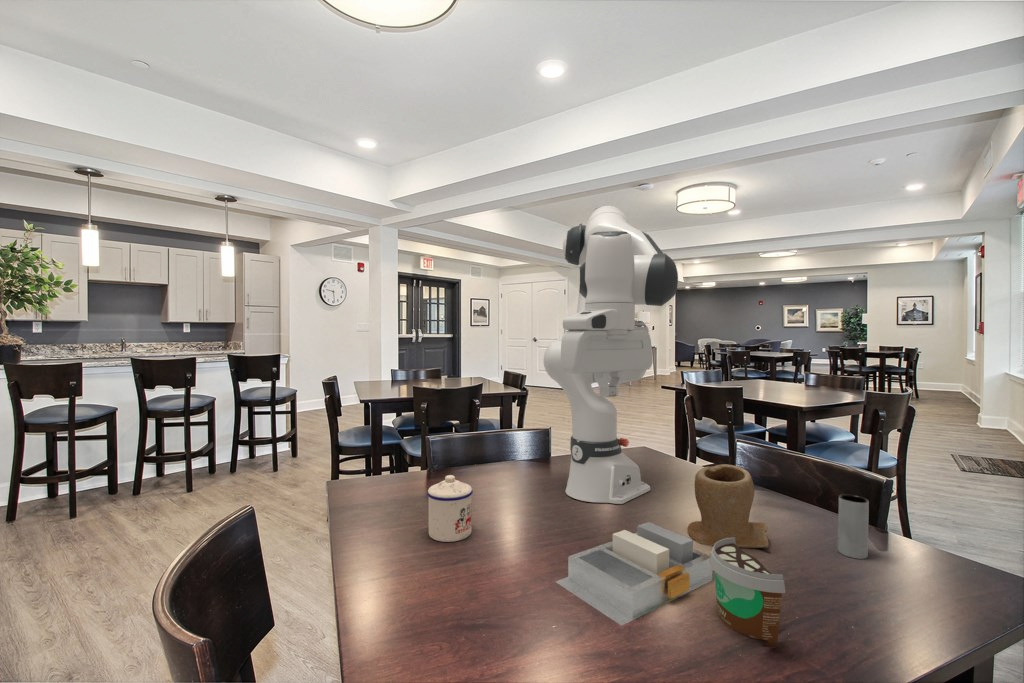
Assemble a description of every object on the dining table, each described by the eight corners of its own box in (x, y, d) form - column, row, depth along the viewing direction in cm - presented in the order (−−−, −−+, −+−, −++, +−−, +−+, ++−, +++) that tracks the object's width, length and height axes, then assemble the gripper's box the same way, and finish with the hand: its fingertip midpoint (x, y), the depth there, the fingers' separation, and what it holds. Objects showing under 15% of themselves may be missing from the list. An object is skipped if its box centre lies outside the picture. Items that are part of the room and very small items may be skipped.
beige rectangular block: (624, 564, 83) (624, 529, 83) (668, 587, 75) (669, 549, 75) (612, 569, 81) (612, 534, 81) (656, 593, 74) (656, 554, 74)
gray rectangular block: (648, 555, 86) (648, 521, 86) (692, 576, 79) (693, 539, 79) (637, 559, 85) (637, 525, 84) (681, 581, 77) (681, 544, 77)
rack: (653, 549, 91) (653, 523, 91) (726, 582, 79) (726, 553, 79) (555, 587, 77) (555, 557, 77) (624, 635, 65) (625, 599, 65)
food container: (693, 602, 73) (693, 537, 73) (732, 601, 74) (733, 535, 73) (738, 657, 61) (739, 578, 61) (784, 655, 61) (785, 576, 61)
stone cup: (695, 555, 89) (695, 474, 88) (683, 529, 100) (684, 457, 100) (784, 562, 86) (785, 478, 86) (762, 534, 98) (763, 460, 97)
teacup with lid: (463, 545, 92) (463, 485, 92) (419, 540, 95) (419, 481, 94) (483, 521, 104) (483, 467, 104) (444, 517, 106) (444, 464, 106)
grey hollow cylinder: (862, 550, 91) (863, 495, 91) (871, 560, 86) (872, 503, 86) (834, 546, 92) (835, 492, 92) (842, 556, 88) (843, 500, 88)
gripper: (634, 321, 96) (634, 390, 96) (555, 319, 84) (555, 398, 84) (661, 320, 91) (660, 394, 91) (580, 318, 79) (579, 403, 79)
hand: (609, 396), depth 88 cm, fingers closed
